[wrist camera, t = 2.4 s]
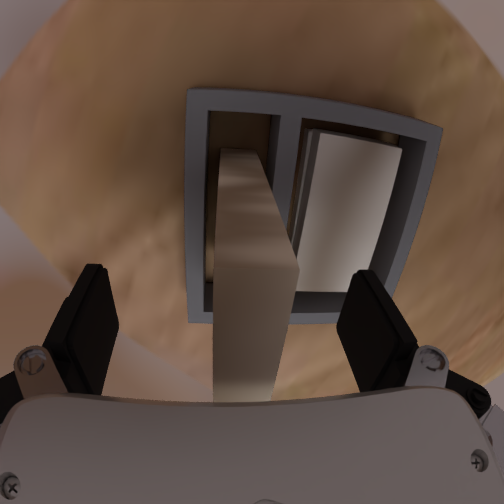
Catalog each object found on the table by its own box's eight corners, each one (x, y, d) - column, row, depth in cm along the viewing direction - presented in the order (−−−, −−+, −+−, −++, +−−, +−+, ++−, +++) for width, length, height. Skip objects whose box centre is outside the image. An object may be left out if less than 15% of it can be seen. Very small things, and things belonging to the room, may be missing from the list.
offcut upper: (390, 142, 17) (402, 148, 16) (352, 279, 22) (359, 292, 21) (313, 128, 16) (320, 132, 15) (285, 277, 22) (289, 290, 20)
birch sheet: (255, 149, 18) (299, 269, 7) (246, 253, 21) (265, 418, 11) (220, 148, 17) (213, 267, 7) (216, 253, 21) (213, 418, 11)
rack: (416, 118, 17) (443, 128, 14) (368, 295, 24) (381, 320, 22) (193, 87, 15) (187, 89, 13) (191, 293, 23) (188, 322, 20)
